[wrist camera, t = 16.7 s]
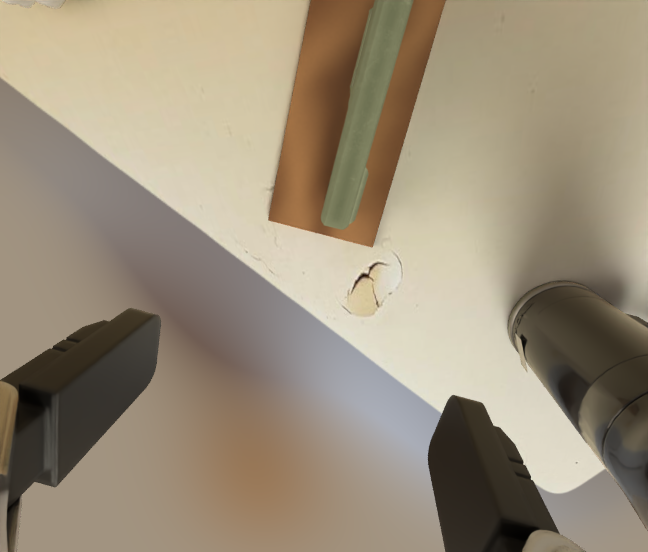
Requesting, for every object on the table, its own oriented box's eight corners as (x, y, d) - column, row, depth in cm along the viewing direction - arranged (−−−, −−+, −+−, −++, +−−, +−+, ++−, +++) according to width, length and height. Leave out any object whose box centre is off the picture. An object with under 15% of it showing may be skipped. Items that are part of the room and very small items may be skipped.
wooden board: (480, -120, 30) (482, -125, 29) (372, 246, 40) (372, 247, 39) (342, -153, 30) (341, -159, 29) (269, 219, 40) (268, 220, 39)
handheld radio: (319, 209, 38) (399, -101, 30) (351, 218, 39) (440, -89, 30) (314, 222, 32) (412, -164, 24) (352, 233, 32) (464, -149, 24)
